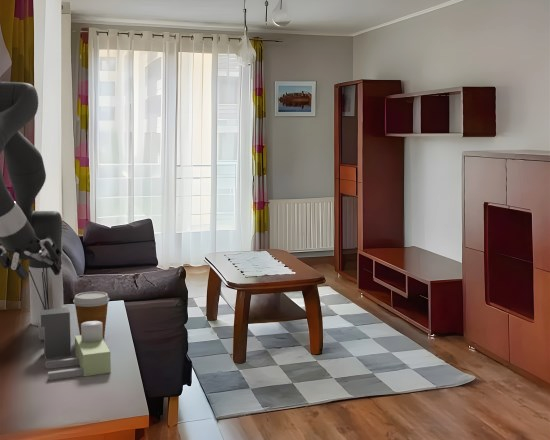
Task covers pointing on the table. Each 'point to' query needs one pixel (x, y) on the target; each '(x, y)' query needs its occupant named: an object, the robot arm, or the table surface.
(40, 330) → the reed diffuser
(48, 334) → the grey lidded box
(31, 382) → the table surface
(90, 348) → the pale green boxy piece
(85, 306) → the disposable coffee cup
